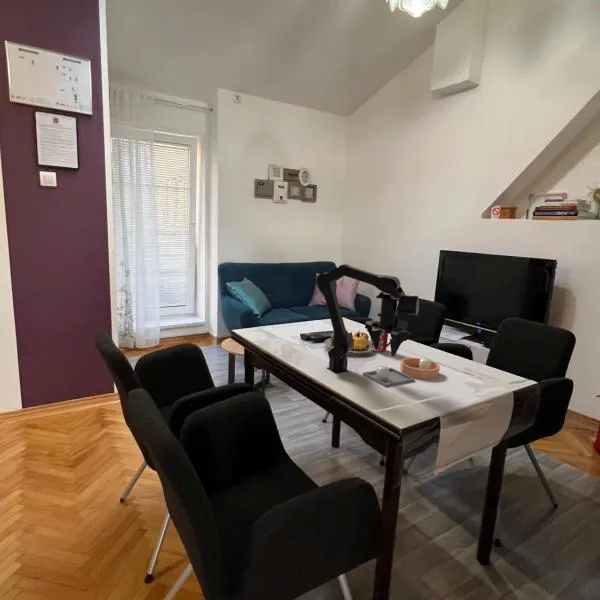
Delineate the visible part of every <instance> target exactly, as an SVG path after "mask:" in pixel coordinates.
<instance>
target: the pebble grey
mask: <svg viewBox="0 0 600 600" xmlns="http://www.w3.org/2000/svg"><path fill="white" fill-rule="evenodd" d="M389 368H390V367H388V366H386V365H378V366H377V367H376V370H377V375H376V379H378V380H380V381H388V376H389Z"/></svg>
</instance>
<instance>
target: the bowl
mask: <svg viewBox="0 0 600 600" xmlns="http://www.w3.org/2000/svg"><path fill="white" fill-rule="evenodd" d="M420 359H421V357H407V358H403V359H402V360H401V361H400V367H399V368H400V369H399V371H400V372H402V373H404V374H406V375H408V376H410V377H412V378H414V379H419V380H432V379H437V378H438V377H439V376H440V365H439V363H438V362H435V361H432V360H431V369H430V370H426V369H419V363H420Z"/></svg>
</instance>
